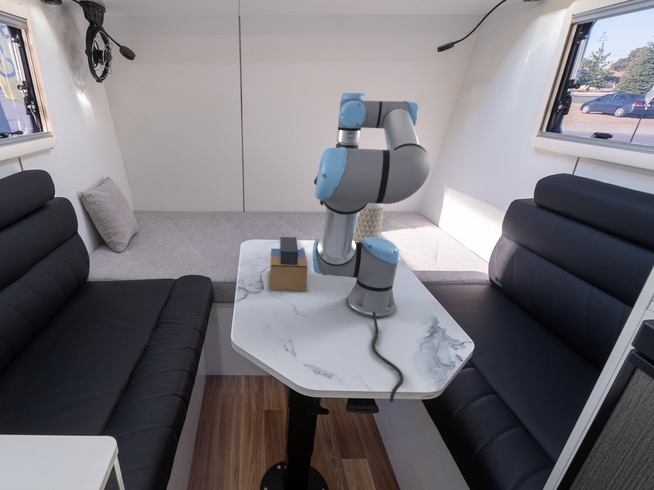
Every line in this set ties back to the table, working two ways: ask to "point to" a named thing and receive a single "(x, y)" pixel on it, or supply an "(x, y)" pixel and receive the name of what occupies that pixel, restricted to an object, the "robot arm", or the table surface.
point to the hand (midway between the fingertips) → (340, 204)
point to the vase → (369, 222)
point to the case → (288, 251)
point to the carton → (288, 275)
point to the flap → (277, 252)
